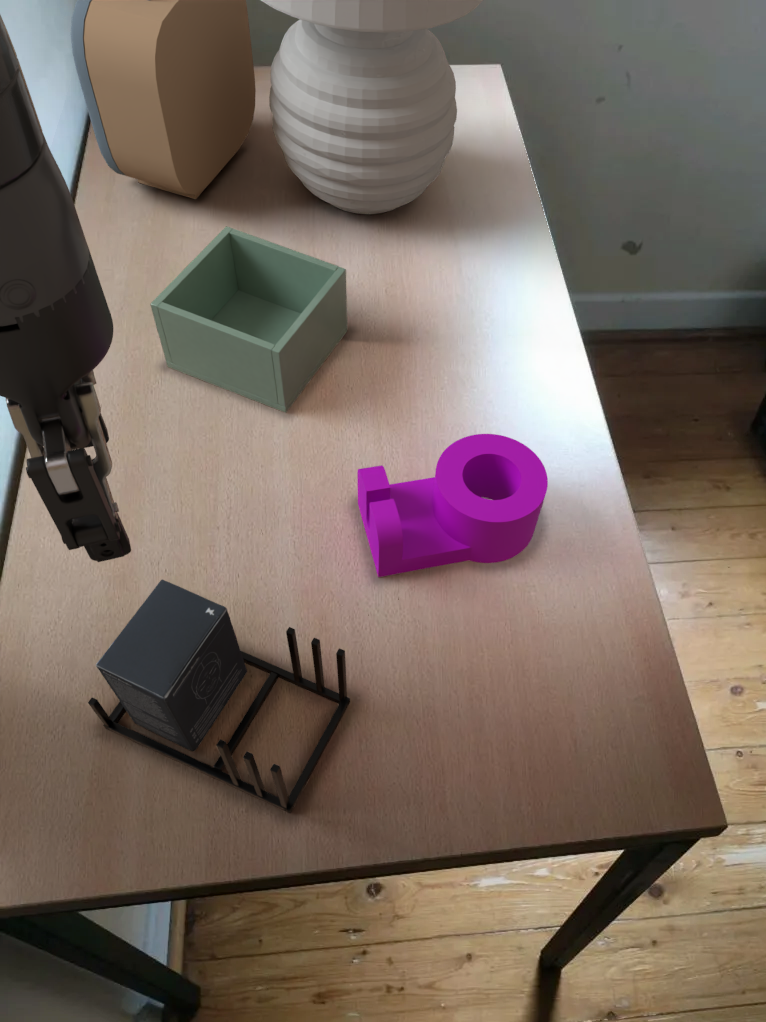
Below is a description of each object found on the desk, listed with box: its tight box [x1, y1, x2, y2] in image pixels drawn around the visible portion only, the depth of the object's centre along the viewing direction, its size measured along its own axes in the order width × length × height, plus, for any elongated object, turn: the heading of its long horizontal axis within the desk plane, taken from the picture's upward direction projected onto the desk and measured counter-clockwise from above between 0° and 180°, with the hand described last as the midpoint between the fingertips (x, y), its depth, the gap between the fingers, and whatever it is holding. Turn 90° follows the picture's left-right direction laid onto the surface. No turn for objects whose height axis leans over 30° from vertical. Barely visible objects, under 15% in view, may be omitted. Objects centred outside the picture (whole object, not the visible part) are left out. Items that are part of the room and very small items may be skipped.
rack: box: [87, 626, 351, 814], centre depth 60 cm, size 16×10×9 cm, turn 67°
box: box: [95, 579, 248, 752], centre depth 59 cm, size 8×6×11 cm
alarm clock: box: [70, 0, 257, 200], centre depth 90 cm, size 21×10×22 cm, turn 162°
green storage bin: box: [149, 226, 348, 414], centre depth 81 cm, size 14×14×8 cm
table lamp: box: [260, 0, 484, 215], centre depth 83 cm, size 25×25×40 cm
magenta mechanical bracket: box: [357, 433, 549, 578], centre depth 72 cm, size 16×10×6 cm, turn 106°
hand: (101, 495), depth 47 cm, fingers open, 8 cm apart
